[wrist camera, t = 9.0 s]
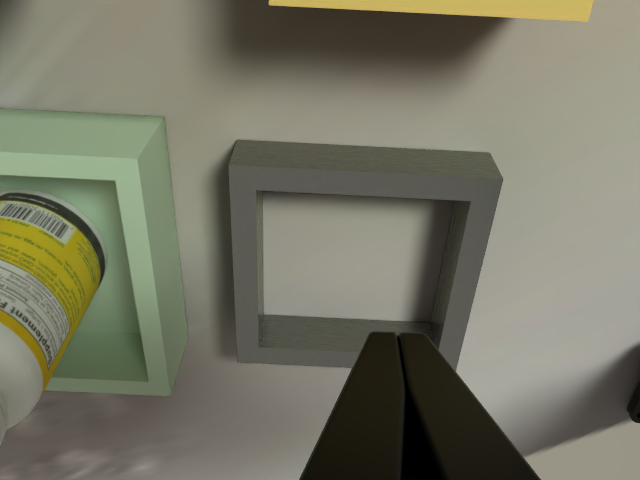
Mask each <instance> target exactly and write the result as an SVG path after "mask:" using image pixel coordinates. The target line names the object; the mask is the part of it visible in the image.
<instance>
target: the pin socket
mask: <svg viewBox="0 0 640 480" xmlns="http://www.w3.org/2000/svg"><path fill="white" fill-rule="evenodd" d="M228 167H229V189H230V211H231V234H232V256H233V278H234V300H235V322H236V344H237V362H241V363H262V364H283V365H304V366H324V367H345V368H353V366H354V364H355V362H356V359H357V357H358V355H359V353H360V351H361V349H362V347H363V345H364V343H365V341H366V339H367V336H368V334H369V333H370V332H372V331H392V332H395V333H396V334H397V335H398V334H399V333H400V332H422V333H424V334H426V335H427V336H428V337H429V339H430V340H431V341H432V342H433V344H434V345H435V346H436V347H437V349H438V350H439V351H440V353H441V354H442V355H443V356H444V358H445V359H446V360H447V361H448V363H449V364H450V365H451V366H452V368H453V369H454V370H455V372H456V368H457V364H458V360H459V356H460V352H461V348H462V344H463V340H464V336H465V332H466V328H467V324H468V320H469V315H470V311H471V307H472V303H473V299H474V295H475V291H476V287H477V283H478V279H479V275H480V271H481V267H482V263H483V259H484V255H485V251H486V247H487V243H488V239H489V235H490V231H491V227H492V223H493V219H494V215H495V211H496V206H497V202H498V198H499V194H500V190H501V186H502V182H503V177H502V175H501V174H500V172H499V170H498V168H497V166H496V164H495V162H494V160H493V158H492V156H491V154H490V153H484V152H465V151H445V150H426V149H407V148H387V147H368V146H348V145H329V144H309V143H290V142H270V141H251V140H237V141H236V144H235V147H234V150H233V153H232V156H231V159H230V162H229V165H228ZM262 191H280V192H300V193H319V194H339V195H359V196H378V197H398V198H418V199H438V200H455V203H454V208H453V213H452V218H451V223H450V228H449V233H448V238H447V243H446V248H445V253H444V258H443V263H442V268H441V273H440V278H439V283H438V288H437V293H436V298H435V303H434V308H433V313H432V318H431V323H420V322H400V321H379V320H359V319H338V318H318V317H297V316H277V315H264V296H263V193H262Z"/></svg>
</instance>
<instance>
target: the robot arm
mask: <svg viewBox="0 0 640 480" xmlns="http://www.w3.org/2000/svg"><path fill="white" fill-rule="evenodd" d="M627 411H628V413H629V415H630V417H631V419H632V421H634V422H636V423H640V384H639V385H638V387H637V389H636V391H635V393H634V395H633V397H632V399H631V401H630V403H629V405H628V408H627ZM299 480H541V479H540V478H539V477H538V475H537V474H536V473H535V472H534V470H533V469H532V468H531V467H530V465H529V464H528V463H527V462H526V460H525V459H524V458H523V456H522V455H521V454H520V453H519V451H518V450H517V449H516V448H515V446H514V445H513V444H512V442H511V441H510V440H509V439H508V437H507V436H506V435H505V434H504V432H503V431H502V430H501V429H500V427H499V426H498V425H497V423H496V422H495V421H494V420H493V418H492V417H491V416H490V415H489V413H488V412H487V411H486V410H485V408H484V407H483V406H482V404H481V403H480V402H479V401H478V399H477V398H476V397H475V396H474V394H473V393H472V392H471V391H470V389H469V388H468V387H467V385H466V384H465V383H464V382H463V380H462V379H461V378H460V377H459V375H458V374H457V373H456V372H455V370H454V369H453V368H452V366H451V365H450V364H449V363H448V361H447V360H446V359H445V358H444V356H443V355H442V354H441V353H440V351H439V350H438V349H437V347H436V346H435V345H434V344H433V342H432V341H431V340H430V339H429V337H428V336H427V335H426V334H424V333H422V332H400V333H399V334H398V335H397V334H396V333H395V332H392V331H372V332H370V333H369V334H368V336H367V339H366V341H365V343H364V345H363V347H362V349H361V351H360V353H359V355H358V357H357V359H356V362H355V364H354V366H353V368H352V370H351V372H350V374H349V376H348V378H347V380H346V383H345V385H344V387H343V389H342V391H341V393H340V395H339V397H338V399H337V401H336V404H335V406H334V408H333V410H332V412H331V414H330V416H329V418H328V420H327V422H326V424H325V427H324V429H323V431H322V433H321V435H320V437H319V439H318V441H317V443H316V445H315V448H314V450H313V452H312V454H311V456H310V458H309V460H308V462H307V464H306V466H305V469H304V471H303V473H302V475H301V477H300V479H299Z"/></svg>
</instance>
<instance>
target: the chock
mask: <svg viewBox="0 0 640 480" xmlns="http://www.w3.org/2000/svg"><path fill="white" fill-rule="evenodd" d="M593 2H594V0H269V5H273V6H293V7H312V8H332V9H352V10H372V11H391V12H411V13H431V14H451V15H470V16H490V17H510V18H530V19H549V20H569V21H588V19H589V16H590V12H591V9H592V5H593Z"/></svg>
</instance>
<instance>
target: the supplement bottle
mask: <svg viewBox="0 0 640 480" xmlns="http://www.w3.org/2000/svg"><path fill="white" fill-rule="evenodd" d="M106 268H107V250H106V246H105V243H104V240H103V238H102V236H101V234H100V232H99V231H98V229H97V228H96V227H95V225H94V224H93V223H92V221H91V220H90V219H89V218H88V217H87V216H86V215H85V214H84V213H83V212H82V211H80V210H79V209H78V208H77V207H75V206H74V205H73V204H71V203H70V202H68V201H66V200H64V199H63V198H60V197H58V196H56V195H53V194H50V193H47V192H44V191H40V190H35V189H26V188H15V189H7V190H3V191H0V445H1V444H2V442H3V439H4V436H5V433H6V431H7V429H9V428H11V427H13V426H15V425H16V424H18V423H19V422H21V421H22V420H23V419H24V418H26V416H27V415H28V414H29V413H30V412H31V411H32V410H33V408H34V407H35V405H36V404H37V403H38V401H39V399H40V398H41V396H42V394H43V392H44V390H45V388H46V387H47V385H48V382H49V380H50V378H51V376H52V375H53V373H54V371H55V369H56V367H57V365H58V363H59V361H60V359H61V358H62V356H63V354H64V352H65V350H66V348H67V347H68V345H69V342H70V340H71V339H72V337H73V335H74V333H75V331H76V329H77V327H78V326H79V324H80V322H81V320H82V318H83V316H84V314H85V312H86V310H87V308H88V307H89V305H90V303H91V301H92V299H93V297H94V295H95V293H96V291H97V289H98V288H99V286H100V284H101V282H102V280H103V277H104V275H105V272H106Z"/></svg>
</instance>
